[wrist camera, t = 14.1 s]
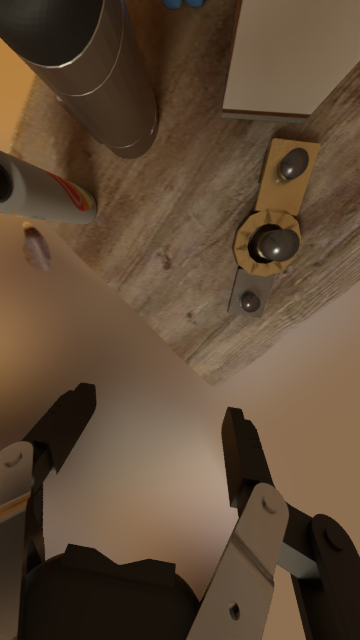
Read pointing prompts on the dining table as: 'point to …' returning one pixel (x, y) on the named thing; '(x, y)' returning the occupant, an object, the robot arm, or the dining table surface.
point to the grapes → (173, 3)
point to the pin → (275, 244)
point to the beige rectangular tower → (288, 56)
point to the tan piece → (270, 220)
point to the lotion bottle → (42, 194)
